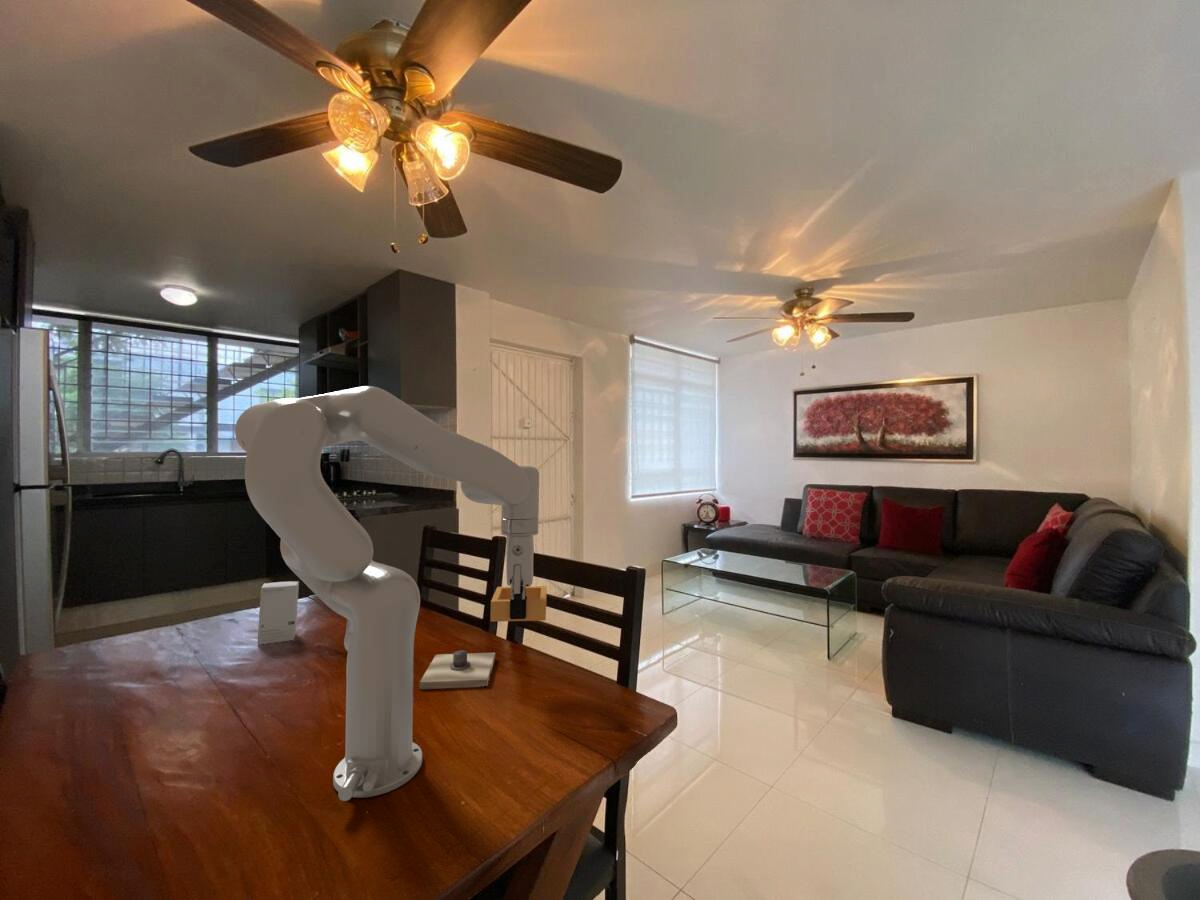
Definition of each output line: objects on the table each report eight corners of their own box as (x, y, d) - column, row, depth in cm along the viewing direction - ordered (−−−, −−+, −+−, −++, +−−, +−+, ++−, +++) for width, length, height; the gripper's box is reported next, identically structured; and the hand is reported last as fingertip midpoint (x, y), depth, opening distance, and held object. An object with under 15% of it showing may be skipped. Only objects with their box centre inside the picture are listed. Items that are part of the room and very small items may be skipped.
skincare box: (257, 646, 121) (258, 588, 121) (261, 638, 127) (262, 582, 127) (295, 640, 125) (296, 584, 125) (298, 633, 130) (299, 579, 131)
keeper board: (487, 686, 101) (487, 665, 101) (419, 689, 99) (419, 667, 100) (495, 658, 115) (495, 640, 115) (435, 660, 113) (436, 641, 113)
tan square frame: (545, 620, 96) (545, 600, 96) (490, 621, 95) (490, 601, 95) (546, 604, 107) (546, 586, 107) (496, 604, 106) (497, 586, 106)
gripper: (537, 532, 89) (535, 630, 88) (539, 521, 104) (538, 605, 104) (496, 532, 88) (494, 631, 88) (505, 521, 103) (503, 606, 103)
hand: (518, 616), depth 96 cm, fingers closed on tan square frame, 1 cm apart
